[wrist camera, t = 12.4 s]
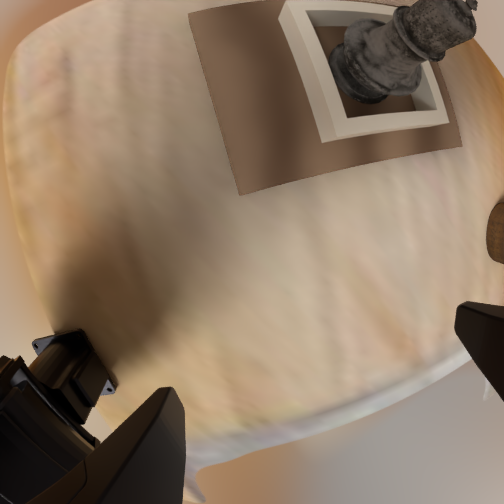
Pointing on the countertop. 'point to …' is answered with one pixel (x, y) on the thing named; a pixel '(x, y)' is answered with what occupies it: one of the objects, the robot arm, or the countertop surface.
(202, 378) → the countertop surface
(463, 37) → the salt shaker
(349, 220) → the countertop surface
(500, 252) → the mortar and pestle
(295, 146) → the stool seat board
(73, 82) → the countertop surface
